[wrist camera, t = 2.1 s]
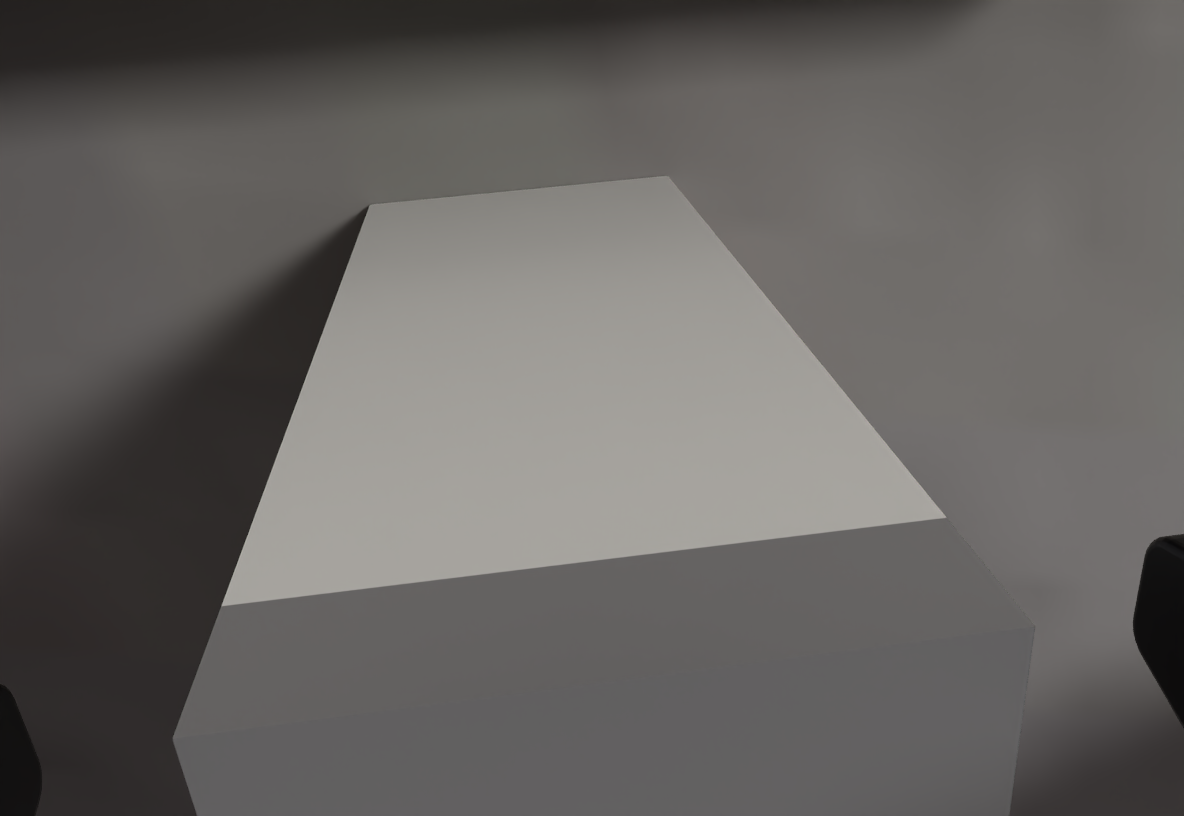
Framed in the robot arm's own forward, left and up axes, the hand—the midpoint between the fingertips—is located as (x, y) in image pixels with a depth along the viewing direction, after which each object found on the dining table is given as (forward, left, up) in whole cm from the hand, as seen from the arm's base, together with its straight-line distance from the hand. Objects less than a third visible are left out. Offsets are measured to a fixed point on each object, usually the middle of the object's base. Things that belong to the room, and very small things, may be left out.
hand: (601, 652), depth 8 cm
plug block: (0, 0, -7) cm, 7 cm away
